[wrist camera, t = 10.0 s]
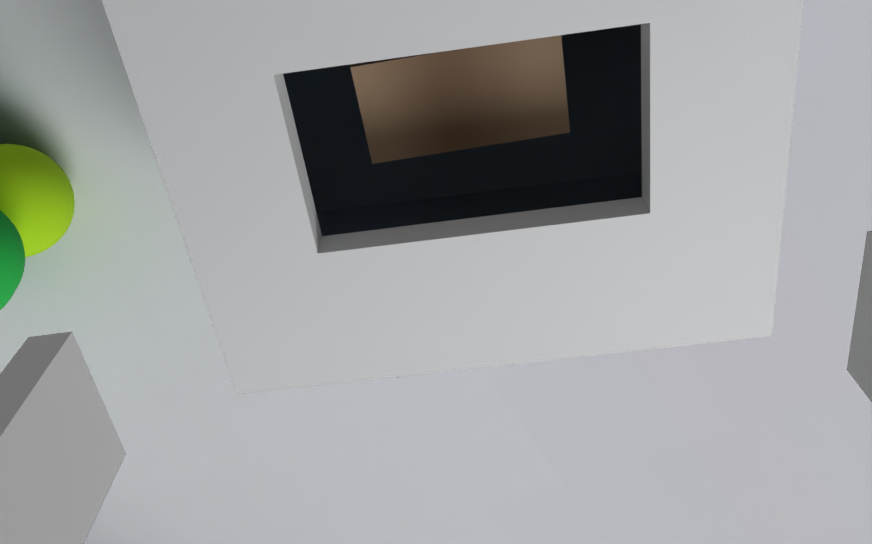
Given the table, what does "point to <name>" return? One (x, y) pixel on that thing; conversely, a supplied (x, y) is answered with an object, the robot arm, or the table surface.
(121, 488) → the table surface
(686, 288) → the box
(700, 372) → the table surface
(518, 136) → the brown flat block
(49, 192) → the molecule model
